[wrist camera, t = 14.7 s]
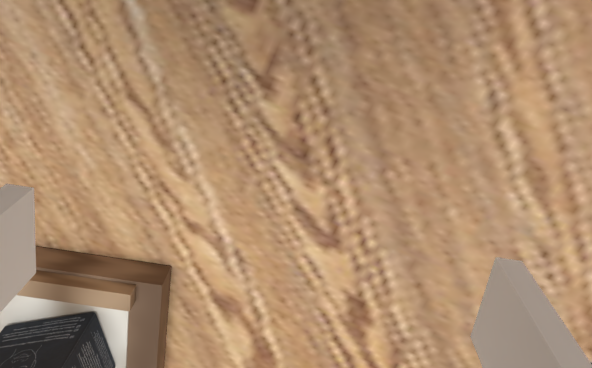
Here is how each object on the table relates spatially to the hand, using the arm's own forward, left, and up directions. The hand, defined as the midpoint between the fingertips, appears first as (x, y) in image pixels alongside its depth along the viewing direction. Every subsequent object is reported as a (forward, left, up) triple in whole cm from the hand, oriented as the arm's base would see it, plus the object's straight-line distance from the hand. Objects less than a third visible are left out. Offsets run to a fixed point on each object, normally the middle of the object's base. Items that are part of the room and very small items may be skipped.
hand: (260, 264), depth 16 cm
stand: (-16, -24, -27) cm, 39 cm away
